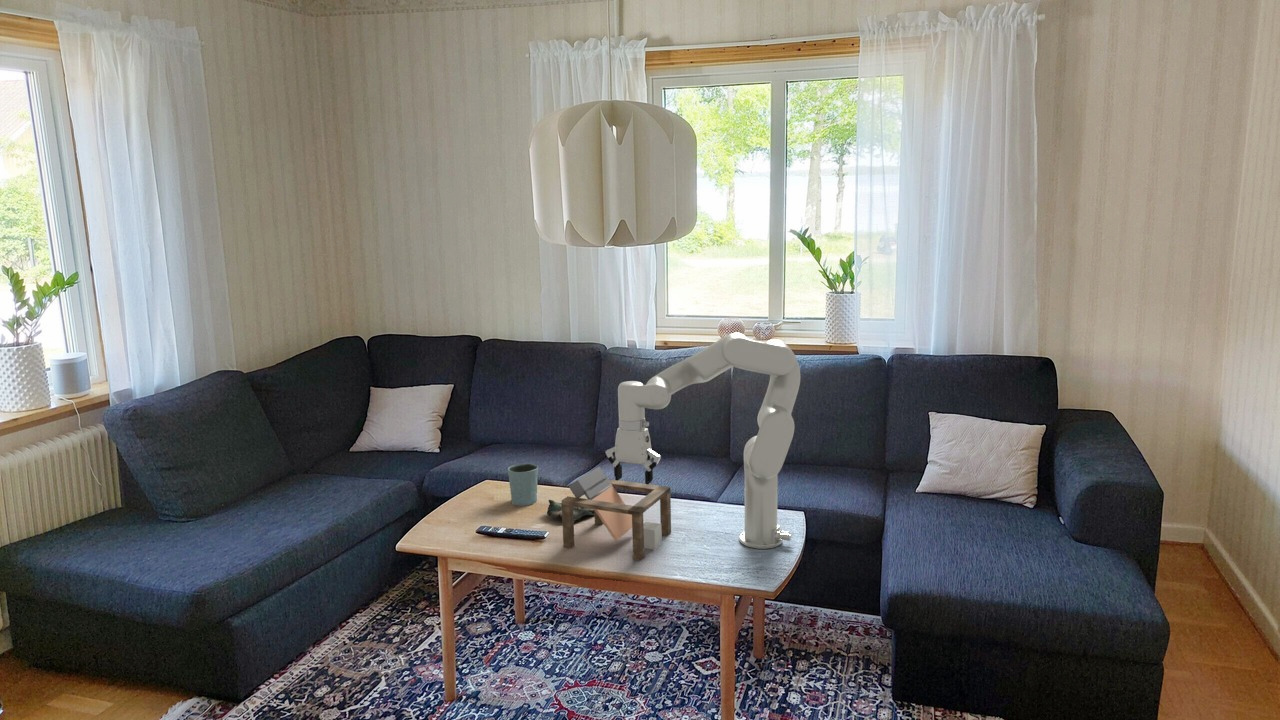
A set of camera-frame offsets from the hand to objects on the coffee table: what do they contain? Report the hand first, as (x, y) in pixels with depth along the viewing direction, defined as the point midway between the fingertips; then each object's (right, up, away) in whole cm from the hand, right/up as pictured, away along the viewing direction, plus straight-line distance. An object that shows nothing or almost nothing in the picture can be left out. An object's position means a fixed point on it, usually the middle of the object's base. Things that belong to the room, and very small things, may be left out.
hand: (633, 481), depth 245 cm
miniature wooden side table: (-5, -18, +6) cm, 20 cm away
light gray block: (+5, -13, 0) cm, 14 cm away
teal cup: (-37, -13, +40) cm, 57 cm away
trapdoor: (-10, -9, +7) cm, 15 cm away
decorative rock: (-19, -15, +28) cm, 38 cm away
